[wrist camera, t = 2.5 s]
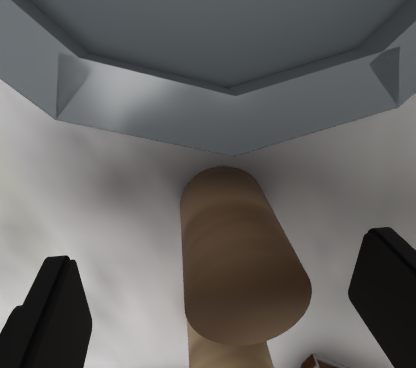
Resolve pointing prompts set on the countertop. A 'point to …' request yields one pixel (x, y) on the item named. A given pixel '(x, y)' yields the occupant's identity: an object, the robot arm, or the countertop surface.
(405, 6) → the slate tray
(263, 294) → the walnut bead
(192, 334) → the oak bead
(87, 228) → the countertop surface
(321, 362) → the food container
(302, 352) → the countertop surface
